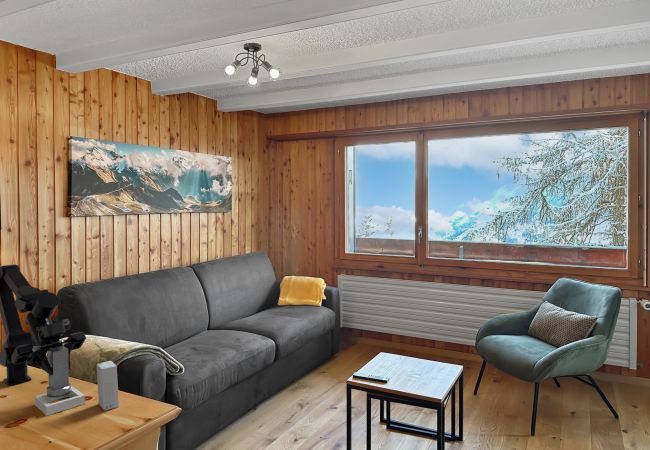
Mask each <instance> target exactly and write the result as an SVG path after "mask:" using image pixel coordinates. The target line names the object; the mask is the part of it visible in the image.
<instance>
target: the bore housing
mask: <svg viewBox="0 0 650 450" xmlns="http://www.w3.org/2000/svg"><path fill="white" fill-rule="evenodd" d="M68 397H69V398H68ZM64 398H66V399H64ZM59 400H60V401H59ZM55 401H57V402H55ZM51 402H53V403H51ZM85 404H86V395H85V394H84V393H82V392H81V391H79V390H78V389H76V388H75V387H74V386H72V385H71V392H70V393H69V394H67V395H65V396H62V397H56V398H51V397H47V392H45V393H41V394H39V395H34V406H36V407H37V408H38V409H39V410H40V411H41V412H42V413H43V414H44V415H45V416H47V417H48V416H50V415H53V414H54V415H55V414H57V413H60V412H64V411H66V410H69V409H73V408H76V407H79V406H82V405H85Z"/></svg>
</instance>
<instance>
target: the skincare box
mask: <svg viewBox="0 0 650 450" xmlns="http://www.w3.org/2000/svg"><path fill="white" fill-rule="evenodd" d="M96 377H97V378H96V379H97V396H98V405H99V407H101V409H102V410H103V411H108V410H113V409H116V408H119V407H120V406H119V385H118V382H119V381H118V366H117V365H116V363H114V362H113V361H112V360H108V361H103V362H99V363H96Z"/></svg>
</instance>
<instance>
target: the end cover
mask: <svg viewBox="0 0 650 450" xmlns="http://www.w3.org/2000/svg"><path fill="white" fill-rule="evenodd" d="M47 359H48V361H49V363H50V366H51V368H52V370H53V375H50V374H48V373H47V374H48V375H47V376H48V379H47V381H48V386H46V393H47V397H51V398H56V397H62V396H65V395H67V394H69V393H70V392H71V386H72V385H71V383H70V381H69V377H70V374H69V370H70V369H69V365H68V349H67V348H66V347H64V346H60V347H56V348H51V349H48V351H47Z"/></svg>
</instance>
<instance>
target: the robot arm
mask: <svg viewBox="0 0 650 450" xmlns="http://www.w3.org/2000/svg"><path fill="white" fill-rule="evenodd" d="M15 297H16V298H15ZM59 304H60V297H59V296H58V295H57V294H55V293H54V292H50V291H49V289H40V288H39V287H34V286H32V285H31V284H30V283H29V281H28V279H27V278H26V277H25V276H24V274H23V273H22V272H21V270H20V266H19V265H18V264H6V265H5V264H3V265H1V266H0V317H1V321H2V325H3V328H4V333H5V339H4V341H3V344H2V346H1V347H2V350H1V352H0V366H2V367H4V368H6V378H3V379H2V380H3V382H4V383H5V384H6V385H8V386H13V385H17V384H20V383H25V382H29V381H32V377H31V376H30V375H29V374H28V373H29V372H28V371H29V370H28V368H29V367H28V364H33V365H35V366H37V367H38V368H40V369H42V371H44V373H47V374H50V375H53V370H52V368H51V366H50V363H49V361H48V356H47V353H46V352H48V349H51V348H56V347H60V346H64V347H66V348H67V349H68V365H69V370H70V369H71V351H75V350H79V349H81V348H82V346H83V344H84V343H85V341H86V340H87V336H86V334H85V332H83V331H78V332H75V333H70V334H69V335H68V336H67V339H63V334H65V333H67V331H68V330H70V329H72V325H71V321H70V319H69V318H65V319H64V318H63V319H62V320H60V321H59V322H56V323H55V322H54V323H53V321H52V319H51V317H52V316H53V315H54V313H55V311H56V309H57V307H58V306H59ZM19 313H20V314H24V313H28V314H27V315H26V317H25V325H26V326H28V327H29V329H30V331H25V330H24V329H23V325H22V321H21V318H20V314H19ZM61 339H63V340H61Z"/></svg>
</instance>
